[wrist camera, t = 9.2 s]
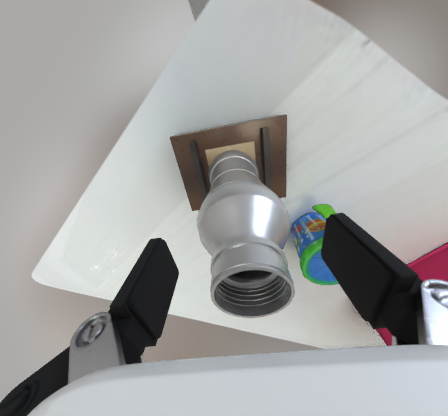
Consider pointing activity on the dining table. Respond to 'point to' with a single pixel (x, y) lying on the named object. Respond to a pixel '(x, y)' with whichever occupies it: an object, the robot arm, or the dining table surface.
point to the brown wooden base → (233, 140)
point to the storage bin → (425, 275)
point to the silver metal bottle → (245, 239)
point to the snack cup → (313, 245)
